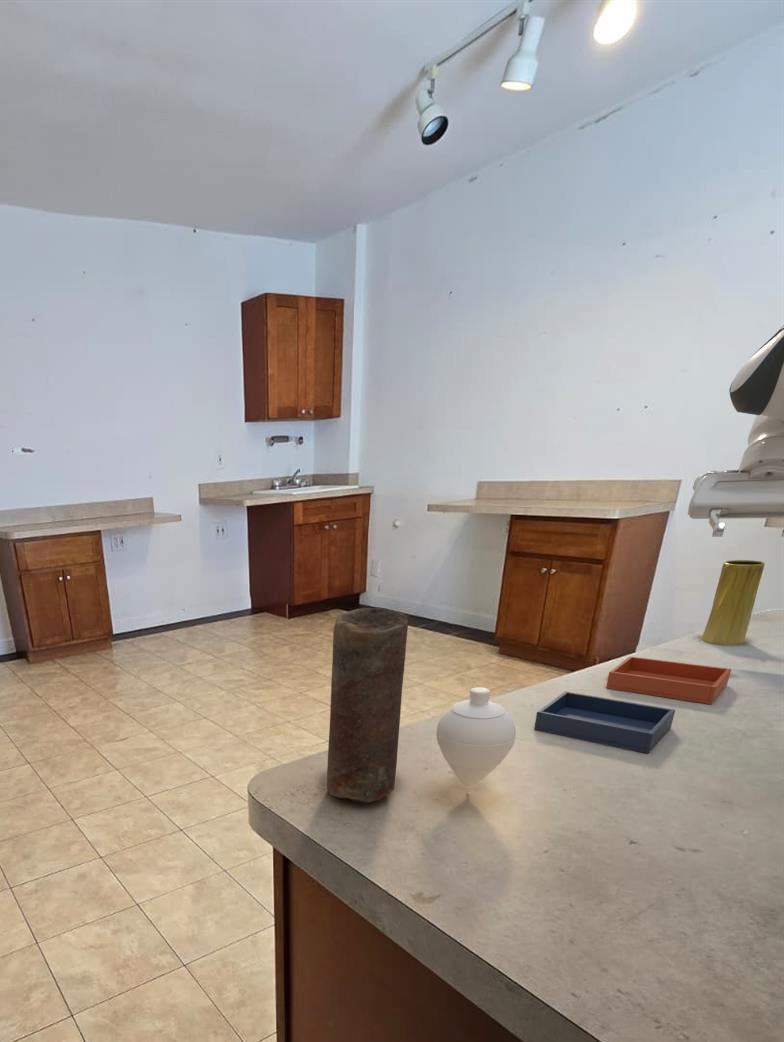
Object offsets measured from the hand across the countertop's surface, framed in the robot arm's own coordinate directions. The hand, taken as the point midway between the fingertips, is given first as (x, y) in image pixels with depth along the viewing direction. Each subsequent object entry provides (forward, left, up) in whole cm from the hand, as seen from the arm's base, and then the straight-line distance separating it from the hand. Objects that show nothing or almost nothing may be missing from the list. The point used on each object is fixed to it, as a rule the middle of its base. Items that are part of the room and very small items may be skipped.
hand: (751, 534), depth 109 cm
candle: (+17, +93, -17) cm, 96 cm away
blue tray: (+3, +59, -17) cm, 61 cm away
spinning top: (+8, +86, -17) cm, 88 cm away
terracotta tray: (+1, +37, -17) cm, 41 cm away
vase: (-1, +11, -17) cm, 21 cm away
